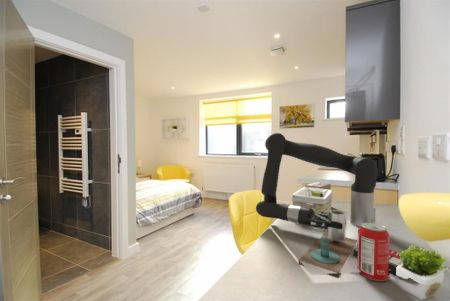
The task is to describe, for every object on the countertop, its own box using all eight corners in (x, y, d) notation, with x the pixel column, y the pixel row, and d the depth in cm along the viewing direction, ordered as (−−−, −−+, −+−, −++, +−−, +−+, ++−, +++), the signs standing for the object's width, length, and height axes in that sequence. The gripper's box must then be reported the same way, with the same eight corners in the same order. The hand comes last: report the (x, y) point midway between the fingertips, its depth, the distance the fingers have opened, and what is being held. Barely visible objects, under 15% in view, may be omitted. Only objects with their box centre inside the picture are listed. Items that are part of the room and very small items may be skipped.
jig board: (325, 235, 97) (325, 216, 97) (357, 243, 89) (357, 222, 89) (298, 264, 74) (298, 238, 74) (338, 278, 66) (339, 249, 66)
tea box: (315, 203, 150) (316, 181, 150) (331, 206, 143) (331, 183, 143) (304, 207, 140) (304, 184, 140) (320, 211, 133) (321, 186, 133)
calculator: (408, 269, 65) (353, 247, 77) (407, 283, 65) (352, 260, 77) (418, 257, 72) (366, 239, 84) (417, 270, 72) (365, 250, 84)
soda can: (359, 279, 66) (360, 228, 65) (355, 266, 73) (356, 220, 72) (391, 286, 62) (393, 232, 62) (385, 271, 70) (386, 223, 69)
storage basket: (325, 230, 104) (325, 198, 104) (290, 223, 113) (290, 193, 113) (333, 216, 124) (333, 189, 124) (302, 211, 133) (303, 186, 132)
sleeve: (339, 234, 90) (339, 210, 90) (348, 240, 85) (348, 214, 84) (326, 235, 90) (326, 210, 89) (334, 241, 84) (334, 214, 84)
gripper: (293, 210, 90) (339, 219, 80) (306, 203, 102) (348, 210, 91) (293, 228, 91) (339, 240, 80) (306, 219, 102) (348, 228, 91)
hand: (344, 224), depth 85 cm, fingers closed on sleeve, 5 cm apart
